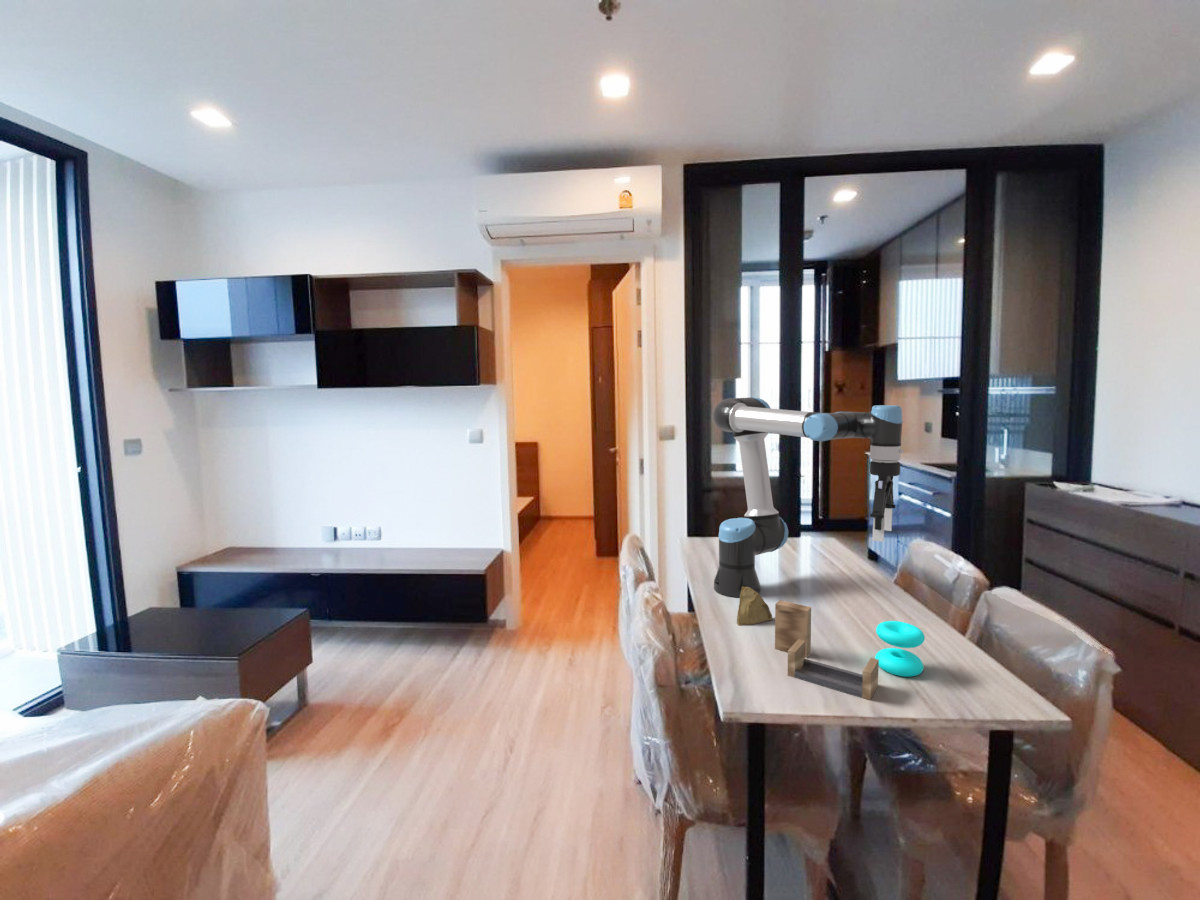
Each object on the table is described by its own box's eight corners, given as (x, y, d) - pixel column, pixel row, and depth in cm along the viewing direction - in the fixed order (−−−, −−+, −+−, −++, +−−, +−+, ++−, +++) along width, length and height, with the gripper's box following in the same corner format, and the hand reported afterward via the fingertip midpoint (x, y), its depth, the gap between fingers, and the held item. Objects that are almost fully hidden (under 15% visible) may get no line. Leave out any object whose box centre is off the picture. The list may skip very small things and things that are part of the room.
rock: (773, 606, 161) (739, 599, 164) (777, 590, 155) (741, 583, 158) (770, 639, 154) (734, 631, 157) (773, 624, 148) (736, 615, 151)
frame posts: (787, 675, 126) (787, 650, 125) (798, 662, 132) (798, 639, 131) (870, 700, 115) (871, 673, 114) (877, 685, 121) (878, 659, 120)
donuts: (870, 617, 133) (914, 620, 131) (869, 656, 134) (913, 659, 132) (884, 635, 123) (932, 638, 122) (883, 677, 124) (930, 680, 122)
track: (794, 677, 125) (794, 671, 125) (804, 664, 131) (805, 658, 131) (862, 697, 116) (862, 691, 116) (870, 683, 122) (870, 676, 122)
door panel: (774, 649, 139) (775, 603, 138) (779, 644, 142) (779, 600, 140) (806, 657, 134) (807, 611, 133) (810, 653, 137) (811, 607, 135)
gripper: (893, 466, 139) (890, 547, 141) (906, 456, 159) (903, 527, 161) (861, 465, 143) (858, 543, 145) (877, 455, 163) (875, 524, 165)
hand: (882, 535), depth 153 cm, fingers open, 13 cm apart
